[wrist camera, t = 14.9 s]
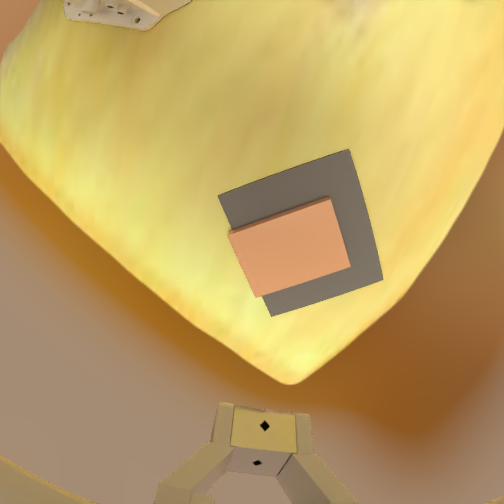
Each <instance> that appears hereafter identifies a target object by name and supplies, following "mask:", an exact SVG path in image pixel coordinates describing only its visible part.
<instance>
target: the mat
mask: <svg viewBox="0 0 504 504" xmlns="http://www.w3.org/2000/svg"><path fill="white" fill-rule="evenodd" d="M328 196H329V198H330V199H331V202H332V205H333V208H334V212H335V215H336V218H337V221H338V224H339V228H340V231H341V234H342V238H343V241H344V245H345V248H346V252H347V255H348V259H349V262H350V266H351V267H348V268H345V269H342V270H340V271H337V272H334V273H331V274H328V275H325V276H322V277H319V278H316V279H313V280H310V281H307V282H304V283H301V284H298V285H295V286H291V287H288V288H285V289H282V290H279V291H276V292H273V293H269V294H266V295H263V296H262V297H263V299H264V302H265V304H266V306H267V308H268V311H269V313H270V315H271V317H272V316H276V315H279V314H282V313H285V312H289V311H292V310H295V309H298V308H302V307H305V306H308V305H311V304H314V303H317V302H320V301H323V300H326V299H329V298H332V297H335V296H338V295H341V294H344V293H347V292H350V291H353V290H356V289H359V288H362V287H365V286H368V285H370V284H373V283H376V282H379V281H381V280H383V275H382V270H381V266H380V261H379V257H378V252H377V248H376V244H375V239H374V235H373V231H372V227H371V223H370V219H369V215H368V212H367V208H366V204H365V201H364V197H363V194H362V190H361V187H360V183H359V180H358V176H357V173H356V170H355V167H354V163H353V160H352V157H351V154H350V151H349V149H347V150H344V151H341V152H338V153H335V154H332V155H329V156H326V157H323V158H320V159H317V160H314V161H311V162H308V163H305V164H303V165H300V166H297V167H294V168H291V169H288V170H286V171H283V172H280V173H277V174H274V175H272V176H269V177H266V178H264V179H261V180H258V181H255V182H253V183H250V184H247V185H245V186H242V187H240V188H237V189H234V190H232V191H229V192H227V193H224V194H222V195H219V196H218V198H219V200H220V203H221V205H222V207H223V209H224V212H225V214H226V216H227V218H228V221H229V223H230V225H231V228H232V230H235V229H237V228H240V227H243V226H246V225H248V224H251V223H254V222H257V221H259V220H262V219H265V218H268V217H271V216H273V215H276V214H279V213H282V212H285V211H288V210H290V209H293V208H296V207H299V206H302V205H305V204H308V203H310V202H313V201H316V200H319V199H322V198H325V197H328Z"/></svg>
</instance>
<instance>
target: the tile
mask: <svg viewBox="0 0 504 504" xmlns="http://www.w3.org/2000/svg"><path fill="white" fill-rule="evenodd" d="M227 236H228V238H229V241H230V243H231V245H232V247H233V250H234V252H235V254H236V256H237V258H238V261H239V263H240V265H241V267H242V269H243V272H244V274H245V276H246V278H247V280H248V282H249V285H250V287H251V289H252V291H253V293H254V295H255V298H257V297H260V296H263V295H266V294H269V293H273V292H276V291H279V290H282V289H285V288H288V287H291V286H295V285H298V284H301V283H304V282H307V281H310V280H313V279H316V278H319V277H322V276H325V275H328V274H331V273H334V272H337V271H340V270H342V269H345V268H348V267H351V266H350V262H349V259H348V255H347V252H346V248H345V245H344V241H343V238H342V234H341V231H340V228H339V224H338V221H337V218H336V215H335V212H334V208H333V205H332V202H331V199H330V198H329V196H328V197H325V198H322V199H319V200H316V201H313V202H310V203H308V204H305V205H302V206H299V207H296V208H293V209H290V210H288V211H285V212H282V213H279V214H276V215H273V216H271V217H268V218H265V219H262V220H259V221H257V222H254V223H251V224H248V225H246V226H243V227H240V228H237V229H235V230H232V231H229V232H228V235H227Z"/></svg>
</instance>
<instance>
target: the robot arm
mask: <svg viewBox="0 0 504 504" xmlns="http://www.w3.org/2000/svg"><path fill="white" fill-rule="evenodd" d="M190 1H191V0H64V12H65V16H66V18H67V19H69V20H72V21H81V22H90V23H98V24H105V25H112V26H119V27H125V28H130V29H136V30H141V31H147V30H150V29H151V28H153V27H154V26H155V25H156V24H157V23H158V22H159V21H160V20H161V19H162V18H163V17H164V16H165V15H167V14H168V13H170V12H172V11H174V10H176V9H178V8H180V7H182V6H184V5H185V4H187V3H188V2H190ZM70 3H71V4H70ZM138 19H140V21H139V22H138V23H136V21H137V20H138ZM226 471H230V472H238V473H248V474H257V475H264V476H273V477H276V479H277V480H278V481H279V483H280V485H281V487H282V488H283V490H284V492H285V493H286V495H287V496H288V498H289V500H290V501H291V502H292V504H358V501H357V500H356V498H355V497H354V496H353V495H352V494H351V493H350V492H349V491H348V489H347V488H346V487H345V486H344V485H343V484H342V483H341V481H340V480H339V479H338V478H337V477H336V476H335V474H334V473H333V472H332V471H331V470H330V469H329V467H328V466H327V465H326V464H325V463H324V461H323V460H322V459H321V458H320V457H319V456H318V455H314V451H313V440H312V430H311V420H310V416H309V414H299V413H292V412H283V411H274V410H265V409H264V410H262V409H256V408H250V407H244V406H239V405H234V404H228V403H224V402H218V406H217V411H216V416H215V420H214V424H213V429H212V434H211V440H210V443H209V442H207V443H206V444H205V445H203V446H202V447H201V448H200V449H199V450H198V451H197V452H196V453H194V454H193V455H192V456H191V457H190V458H189V459H188V460H186V461H185V462H184V463H183V464H182V465H180V466H179V467H178V468H177V469H176V470H174V471H173V472H172V473H171V474H170V475H168V476H167V477H166V478H165V479H164V480H162V481H161V482H160V483H159V485H158V489H157V493H156V497H155V500H154V504H215V499H214V498H213V497H212V496H210V495H206V493H207V492H208V491H209V490H210V489H211V488H212V487H213V486H214V485H215V484H216V483H217V482H218V481H219V479H220V478H221V477H222V476H223V475H224V474H225V473H226ZM0 504H98V503H95V502H93V501H89V500H88V499H85V498H82V497H80V496H78V495H76V494H73V493H71V492H68V491H66V490H64V489H62V488H60V487H58V486H56V485H54V484H51V483H50V482H47V481H46V480H43V479H41V478H40V477H38V476H36V475H34V474H32V473H30V472H28V471H27V470H25V469H23V468H21V467H20V466H18V465H16V464H14V463H13V462H11V461H9V460H8V459H6V458H5V457H3V456H1V455H0ZM485 504H504V496H502V497H500V498H497V499H495V500H492V501H490V502H488V503H485Z"/></svg>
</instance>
